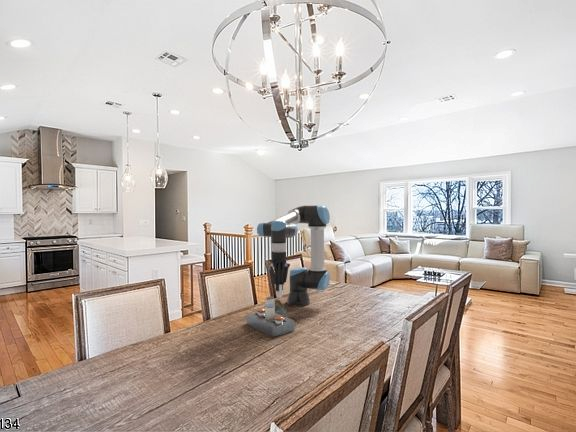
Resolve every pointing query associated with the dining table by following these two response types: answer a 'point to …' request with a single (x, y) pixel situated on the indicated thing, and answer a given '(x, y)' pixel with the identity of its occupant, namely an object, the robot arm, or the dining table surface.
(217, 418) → the dining table surface
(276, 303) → the beverage carton
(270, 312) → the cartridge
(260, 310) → the plunger
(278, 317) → the plunger
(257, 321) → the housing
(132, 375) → the dining table surface
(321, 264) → the robot arm
